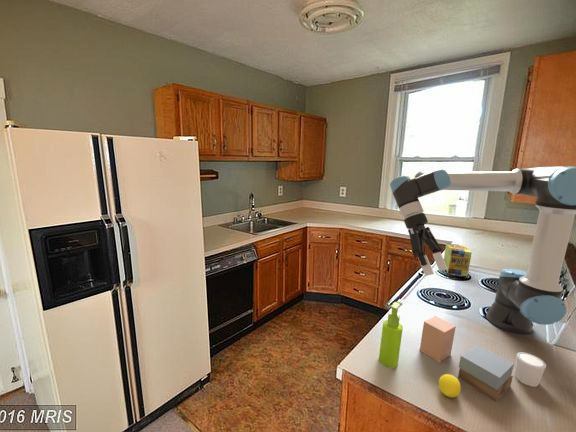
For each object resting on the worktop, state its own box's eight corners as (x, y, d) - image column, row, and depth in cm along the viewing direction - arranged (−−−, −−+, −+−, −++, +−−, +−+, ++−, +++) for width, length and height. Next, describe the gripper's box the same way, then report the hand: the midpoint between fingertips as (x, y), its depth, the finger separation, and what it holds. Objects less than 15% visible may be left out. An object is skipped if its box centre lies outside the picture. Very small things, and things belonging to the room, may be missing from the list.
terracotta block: (431, 343, 100) (435, 315, 98) (450, 354, 95) (455, 326, 92) (419, 349, 97) (424, 321, 94) (439, 362, 91) (444, 332, 89)
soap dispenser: (401, 359, 91) (409, 304, 87) (393, 370, 86) (401, 312, 82) (384, 350, 95) (391, 297, 91) (375, 361, 90) (382, 305, 86)
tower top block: (473, 355, 89) (476, 344, 89) (511, 375, 81) (513, 363, 80) (458, 367, 84) (460, 355, 83) (497, 390, 76) (499, 377, 75)
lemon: (457, 407, 75) (460, 392, 73) (435, 396, 78) (437, 381, 76) (461, 388, 80) (463, 374, 78) (440, 379, 83) (442, 365, 82)
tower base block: (473, 366, 90) (475, 355, 89) (510, 387, 82) (512, 376, 81) (457, 378, 85) (459, 367, 84) (495, 402, 77) (497, 390, 76)
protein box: (447, 274, 164) (451, 249, 161) (442, 265, 178) (446, 242, 175) (467, 277, 161) (472, 252, 158) (460, 268, 175) (464, 244, 172)
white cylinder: (527, 371, 88) (531, 351, 87) (547, 388, 82) (553, 368, 80) (506, 370, 88) (510, 351, 87) (525, 388, 81) (530, 367, 80)
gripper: (417, 220, 113) (438, 270, 107) (388, 219, 96) (411, 279, 90) (435, 212, 108) (459, 265, 102) (408, 211, 91) (434, 274, 85)
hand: (437, 272), depth 96 cm, fingers open, 13 cm apart
